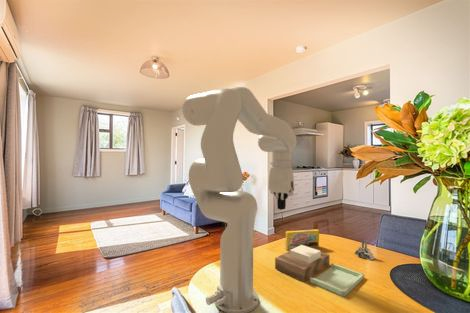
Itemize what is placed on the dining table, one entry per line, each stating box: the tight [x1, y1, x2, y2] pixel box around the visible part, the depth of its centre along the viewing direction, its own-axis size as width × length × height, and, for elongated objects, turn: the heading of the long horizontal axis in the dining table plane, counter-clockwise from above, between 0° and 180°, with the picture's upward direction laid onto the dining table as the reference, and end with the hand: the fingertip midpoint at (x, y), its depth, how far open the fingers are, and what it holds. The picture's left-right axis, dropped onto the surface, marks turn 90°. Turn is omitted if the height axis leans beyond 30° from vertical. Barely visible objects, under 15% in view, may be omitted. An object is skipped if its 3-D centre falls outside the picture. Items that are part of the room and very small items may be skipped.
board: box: [274, 250, 331, 283], centre depth 86 cm, size 18×12×4 cm, turn 132°
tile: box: [289, 245, 322, 264], centre depth 85 cm, size 8×8×2 cm
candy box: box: [284, 228, 320, 251], centre depth 104 cm, size 16×2×8 cm, turn 104°
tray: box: [309, 263, 365, 298], centre depth 76 cm, size 16×11×2 cm
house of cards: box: [354, 239, 376, 261], centre depth 94 cm, size 9×9×8 cm
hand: (281, 208), depth 94 cm, fingers closed
